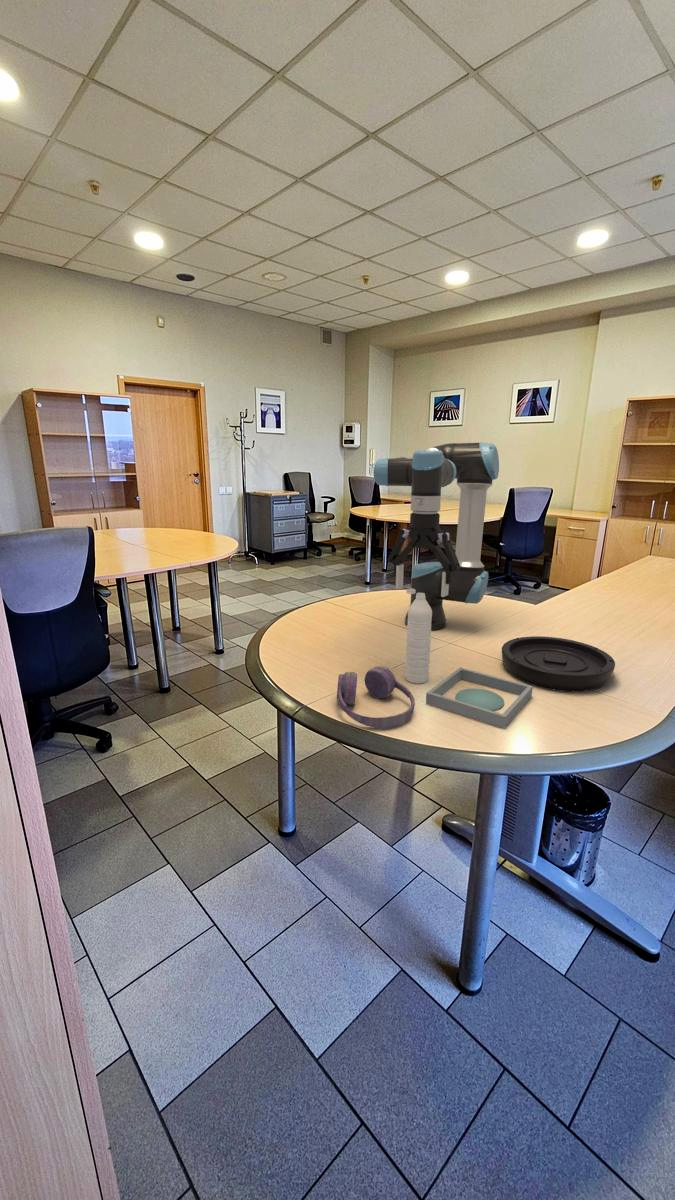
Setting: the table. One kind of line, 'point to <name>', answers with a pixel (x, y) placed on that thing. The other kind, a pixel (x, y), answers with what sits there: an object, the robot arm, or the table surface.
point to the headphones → (379, 686)
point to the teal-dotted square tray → (476, 712)
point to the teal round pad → (481, 698)
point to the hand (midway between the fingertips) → (421, 591)
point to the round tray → (557, 663)
